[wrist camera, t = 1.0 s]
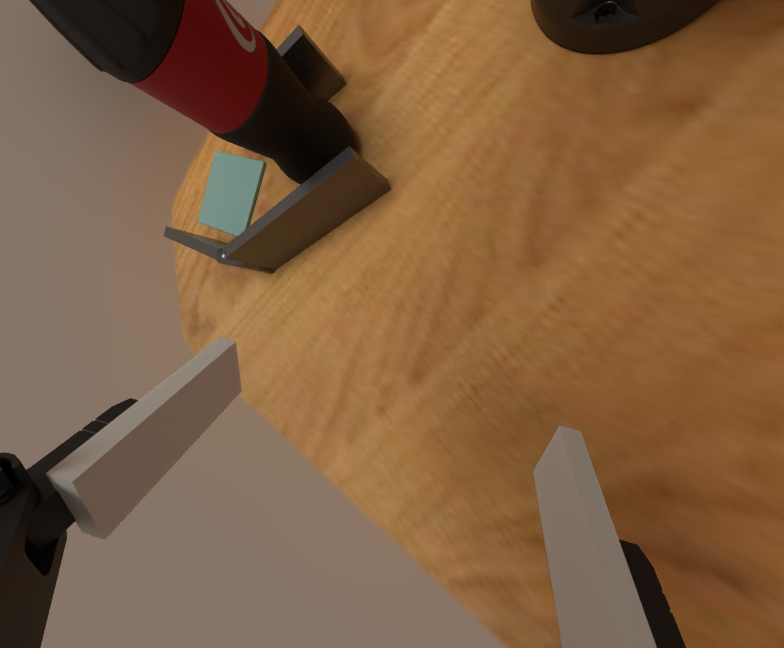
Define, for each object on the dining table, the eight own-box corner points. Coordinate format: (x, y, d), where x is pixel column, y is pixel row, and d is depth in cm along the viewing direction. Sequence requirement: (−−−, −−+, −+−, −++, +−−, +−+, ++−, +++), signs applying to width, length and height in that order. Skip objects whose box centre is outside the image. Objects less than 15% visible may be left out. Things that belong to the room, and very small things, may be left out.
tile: (266, 163, 43) (263, 161, 42) (245, 239, 44) (242, 238, 44) (218, 152, 47) (215, 150, 47) (200, 222, 48) (197, 221, 48)
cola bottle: (353, 105, 37) (-187, -490, 10) (370, 174, 36) (-192, -299, 9) (296, 144, 41) (-215, -224, 14) (310, 207, 39) (-221, -61, 13)
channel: (332, 53, 39) (288, -2, 32) (391, 190, 35) (354, 159, 28) (198, 184, 49) (145, 162, 43) (232, 301, 45) (179, 296, 39)
